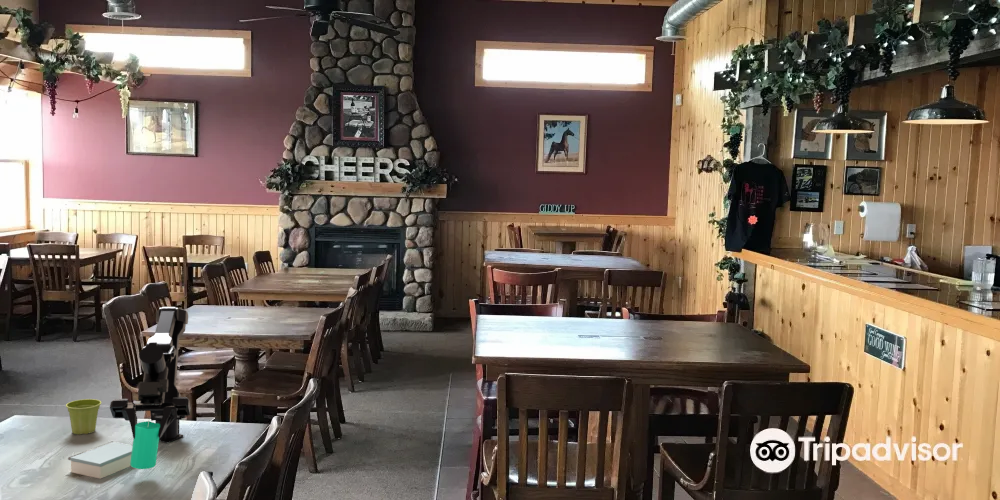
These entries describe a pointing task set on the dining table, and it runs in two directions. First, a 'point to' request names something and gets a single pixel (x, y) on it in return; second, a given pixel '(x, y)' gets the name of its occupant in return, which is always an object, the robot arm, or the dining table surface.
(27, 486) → the dining table surface
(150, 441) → the candle
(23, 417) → the dining table surface
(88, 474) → the small notepad
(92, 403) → the plant pot
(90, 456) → the lid
